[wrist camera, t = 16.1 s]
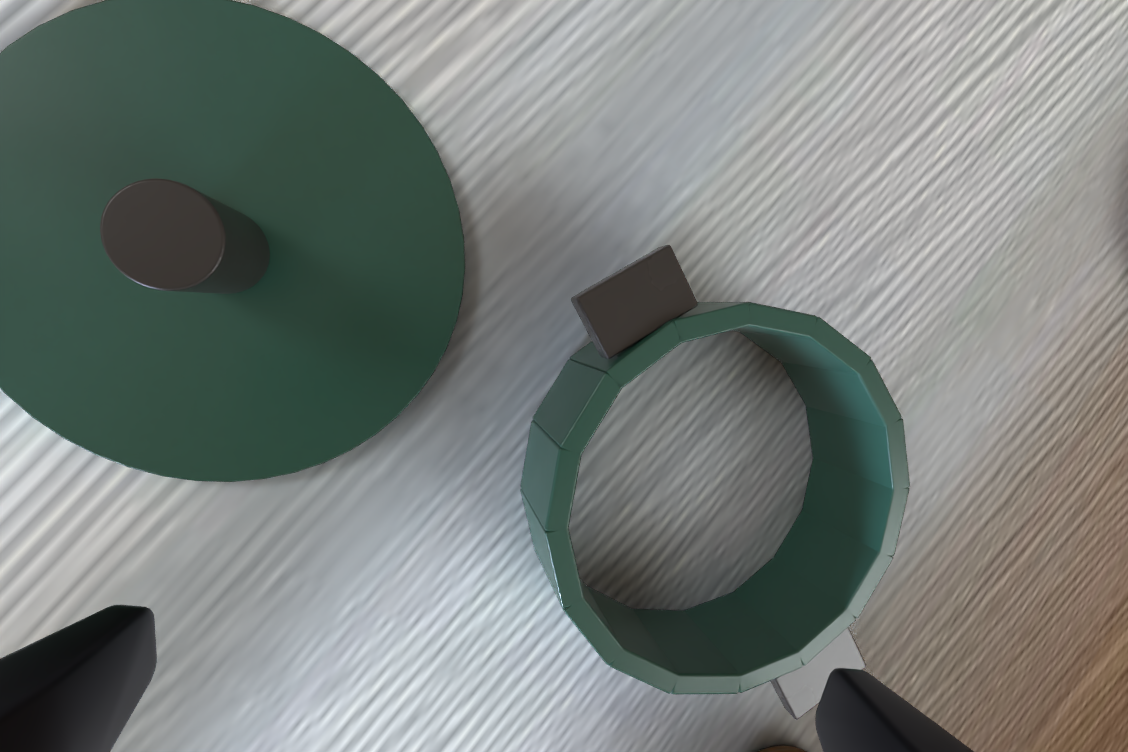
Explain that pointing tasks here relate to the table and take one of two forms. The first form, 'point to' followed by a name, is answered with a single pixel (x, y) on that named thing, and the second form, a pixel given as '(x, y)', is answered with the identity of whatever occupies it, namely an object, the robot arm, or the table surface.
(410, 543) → the table surface
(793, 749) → the utensil holder
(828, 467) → the pot
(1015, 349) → the table surface
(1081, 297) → the table surface
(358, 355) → the pot lid
